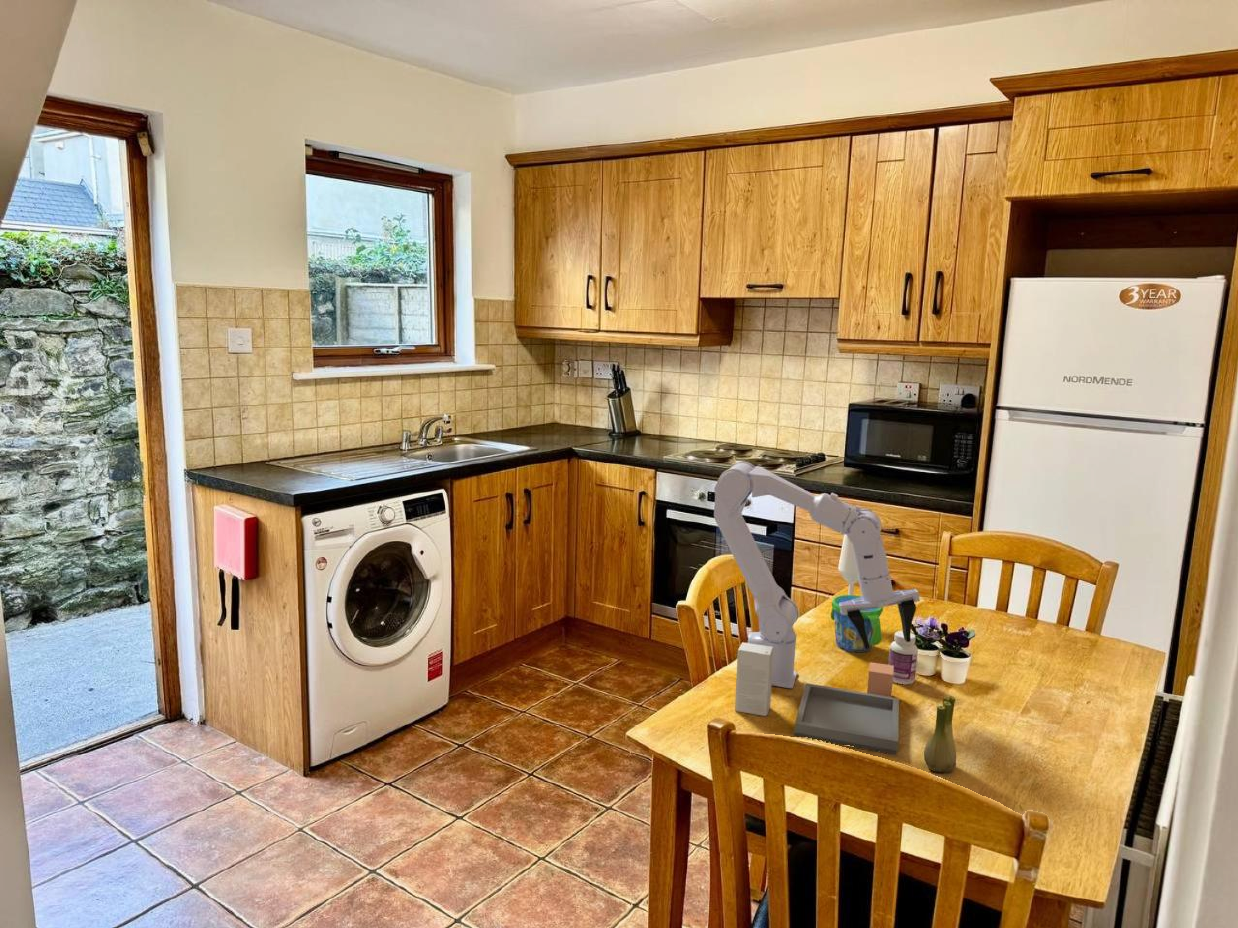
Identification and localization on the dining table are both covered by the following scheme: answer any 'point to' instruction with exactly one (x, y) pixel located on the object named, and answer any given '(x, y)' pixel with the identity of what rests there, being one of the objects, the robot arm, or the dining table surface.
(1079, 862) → the dining table surface
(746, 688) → the skincare box
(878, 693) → the terracotta block
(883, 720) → the grey bin
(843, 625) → the snack cup
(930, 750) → the fennel bulb
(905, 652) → the pill bottle
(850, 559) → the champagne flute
